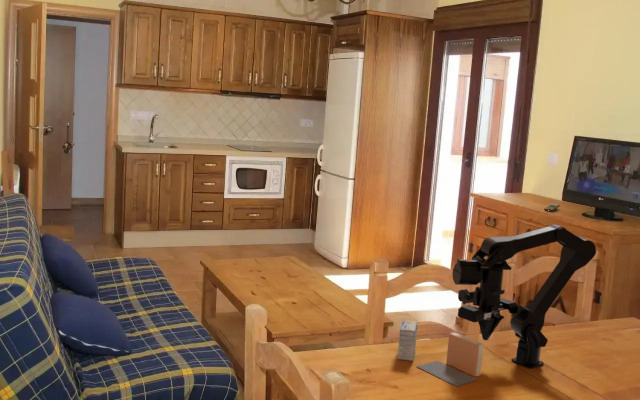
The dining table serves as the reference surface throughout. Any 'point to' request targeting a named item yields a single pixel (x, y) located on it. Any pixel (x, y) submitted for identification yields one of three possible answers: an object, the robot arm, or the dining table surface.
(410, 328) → the medicine box
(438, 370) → the grey mat
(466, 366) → the tile
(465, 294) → the robot arm
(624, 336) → the dining table surface
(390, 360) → the dining table surface
